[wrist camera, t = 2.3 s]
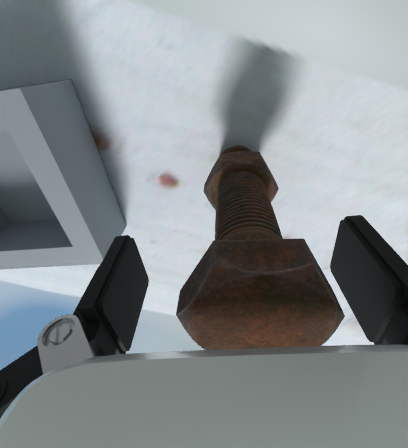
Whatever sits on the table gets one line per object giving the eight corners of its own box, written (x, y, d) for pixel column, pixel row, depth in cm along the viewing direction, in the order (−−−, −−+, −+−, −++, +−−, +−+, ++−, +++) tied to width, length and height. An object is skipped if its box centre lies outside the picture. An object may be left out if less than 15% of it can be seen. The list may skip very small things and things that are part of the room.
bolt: (227, 114, 18) (237, 238, 6) (283, 145, 19) (387, 302, 7) (195, 178, 22) (159, 344, 9) (244, 201, 23) (271, 378, 10)
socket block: (71, 79, 18) (19, 88, 13) (126, 225, 25) (105, 263, 20) (-82, 102, 19) (-174, 118, 15) (12, 234, 27) (-31, 270, 22)
